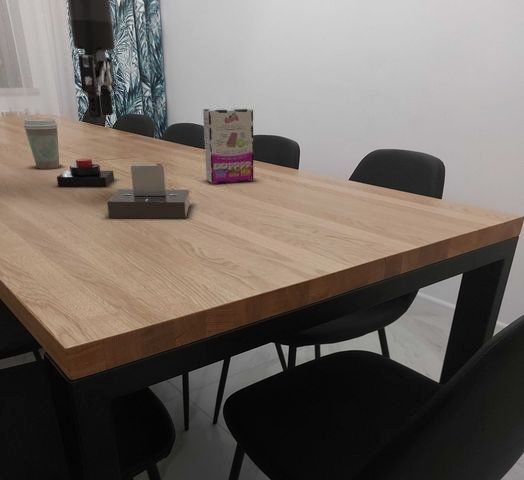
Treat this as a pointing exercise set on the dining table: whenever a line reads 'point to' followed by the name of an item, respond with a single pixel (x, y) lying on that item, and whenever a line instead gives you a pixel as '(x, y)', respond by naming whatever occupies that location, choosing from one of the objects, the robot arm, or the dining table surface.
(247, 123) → the candy bar box
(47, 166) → the coffee cup
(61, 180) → the push button base
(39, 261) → the dining table surface
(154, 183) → the knob
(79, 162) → the power button
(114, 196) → the dark grey base plate
